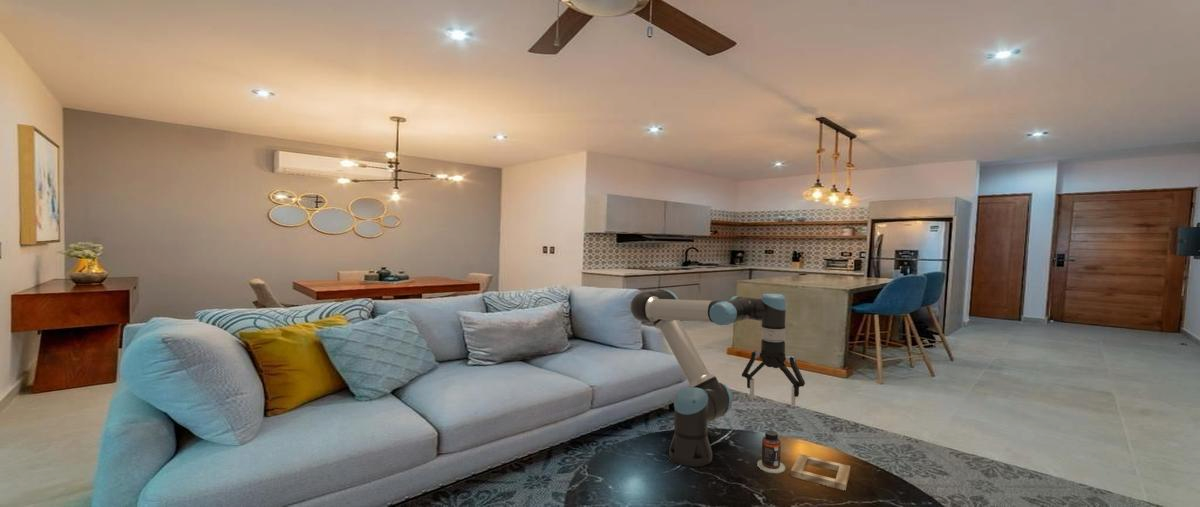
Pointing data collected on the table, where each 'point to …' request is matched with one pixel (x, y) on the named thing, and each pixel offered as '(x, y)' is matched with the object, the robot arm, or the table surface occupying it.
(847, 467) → the oak holder
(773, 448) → the supplement bottle
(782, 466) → the cream flat disc
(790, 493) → the table surface
